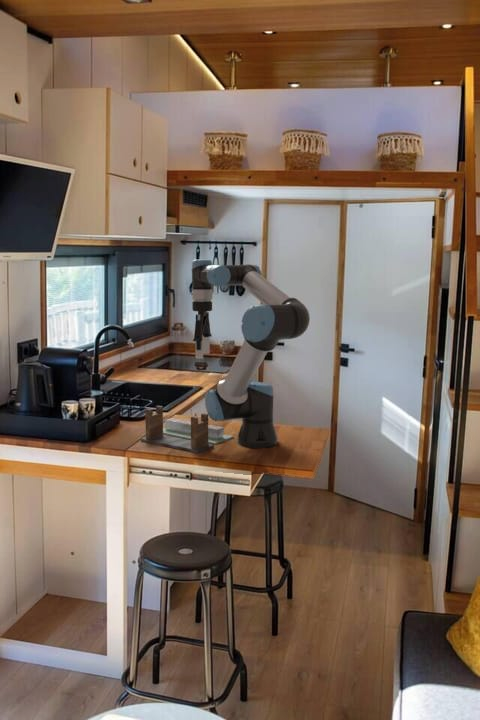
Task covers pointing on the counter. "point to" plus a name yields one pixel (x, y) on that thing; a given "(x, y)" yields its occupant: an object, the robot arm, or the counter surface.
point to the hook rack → (194, 445)
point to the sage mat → (188, 436)
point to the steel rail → (185, 427)
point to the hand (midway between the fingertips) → (202, 356)
